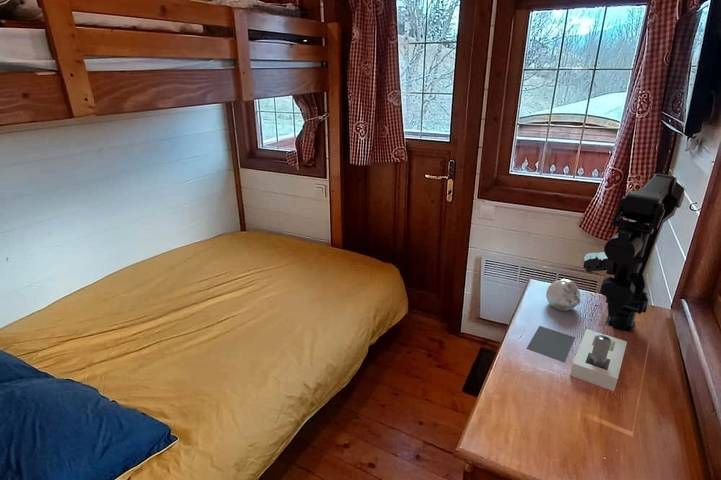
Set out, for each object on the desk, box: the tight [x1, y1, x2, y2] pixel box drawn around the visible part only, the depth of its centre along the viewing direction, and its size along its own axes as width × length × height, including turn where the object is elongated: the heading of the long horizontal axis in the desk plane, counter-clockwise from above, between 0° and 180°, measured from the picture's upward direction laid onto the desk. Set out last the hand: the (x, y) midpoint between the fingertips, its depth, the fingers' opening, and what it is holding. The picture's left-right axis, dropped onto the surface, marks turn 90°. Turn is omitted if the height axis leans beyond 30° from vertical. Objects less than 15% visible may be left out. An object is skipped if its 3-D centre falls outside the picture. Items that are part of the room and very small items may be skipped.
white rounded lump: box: [545, 278, 581, 312], centre depth 124 cm, size 9×10×10 cm
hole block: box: [569, 329, 628, 392], centre depth 103 cm, size 16×9×4 cm, turn 144°
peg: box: [589, 335, 611, 369], centre depth 99 cm, size 3×3×10 cm
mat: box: [525, 325, 576, 363], centre depth 111 cm, size 12×9×1 cm
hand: (613, 307), depth 105 cm, fingers open, 9 cm apart
